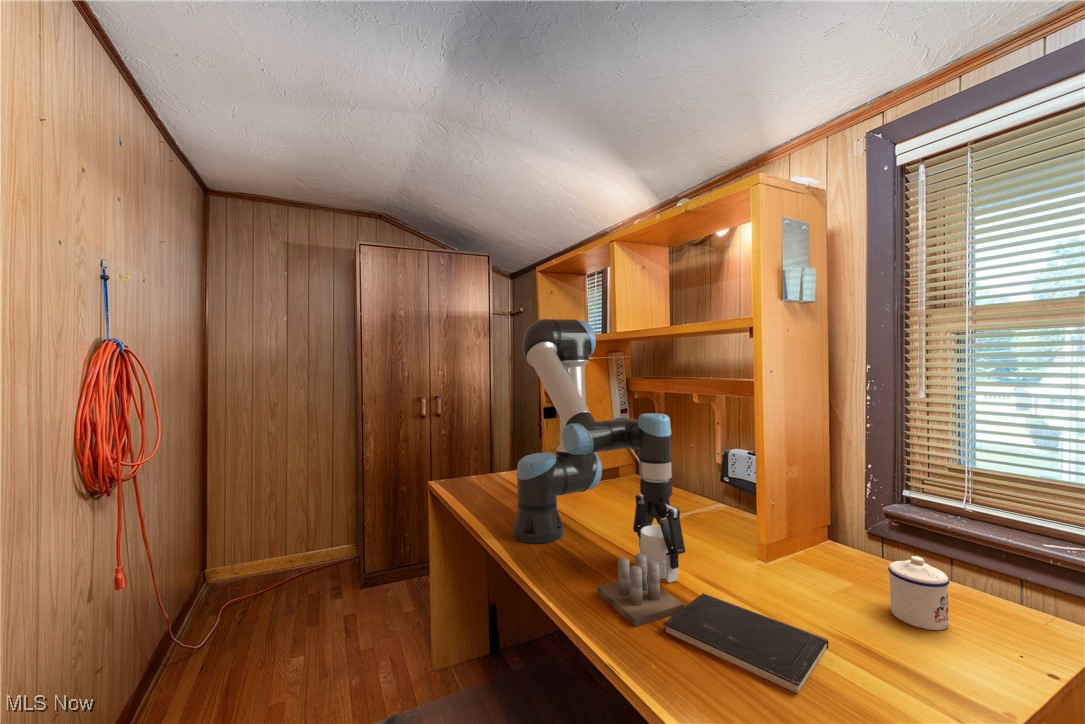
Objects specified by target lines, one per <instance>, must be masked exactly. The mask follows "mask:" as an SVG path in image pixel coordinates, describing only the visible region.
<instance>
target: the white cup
mask: <svg viewBox="0 0 1085 724" xmlns="http://www.w3.org/2000/svg"><path fill="white" fill-rule="evenodd" d="M640 532H641V546H642V554H644V555H646V565H647V563H648V562H657V563H659V575H660V580H666V553H668V550H667V547H666V544H665V540H664V537H663V534H662V531H661V527H660V525H655V524H653V525H651V526H646V527H643V528H642V529H641V530H640ZM672 548H673V547H672ZM647 577H648V566H647Z"/></svg>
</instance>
